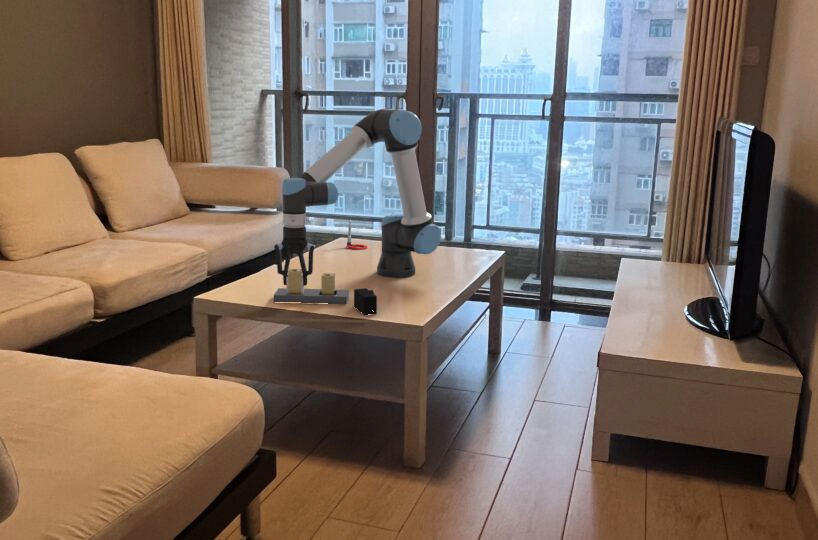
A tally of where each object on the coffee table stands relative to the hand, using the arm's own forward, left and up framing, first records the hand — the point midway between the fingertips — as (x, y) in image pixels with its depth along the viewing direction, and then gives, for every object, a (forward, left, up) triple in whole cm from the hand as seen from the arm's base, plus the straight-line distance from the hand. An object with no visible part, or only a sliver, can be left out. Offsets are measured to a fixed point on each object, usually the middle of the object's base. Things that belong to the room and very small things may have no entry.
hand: (295, 294), depth 257 cm
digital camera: (-25, +11, -3) cm, 27 cm away
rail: (-6, 0, -3) cm, 6 cm away
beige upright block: (-11, 0, -2) cm, 11 cm away
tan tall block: (0, 0, -1) cm, 1 cm away
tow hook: (-14, -92, -3) cm, 93 cm away
